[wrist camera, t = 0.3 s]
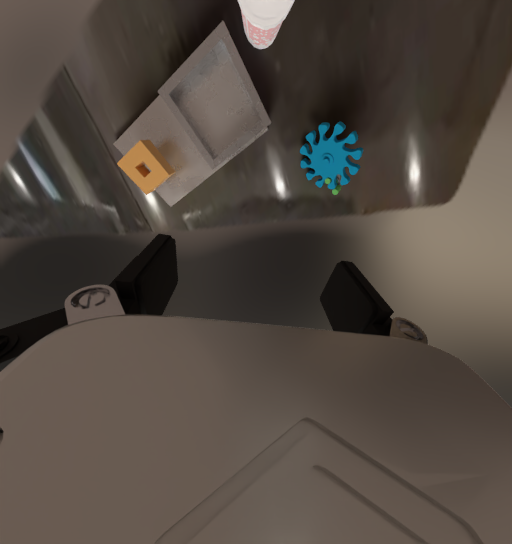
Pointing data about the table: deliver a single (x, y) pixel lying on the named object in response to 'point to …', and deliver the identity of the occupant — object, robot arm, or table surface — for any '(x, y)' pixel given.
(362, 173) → the table surface
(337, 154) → the blue lobed piece
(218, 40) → the gray tray
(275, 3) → the beverage cup
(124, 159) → the amber wooden brick
